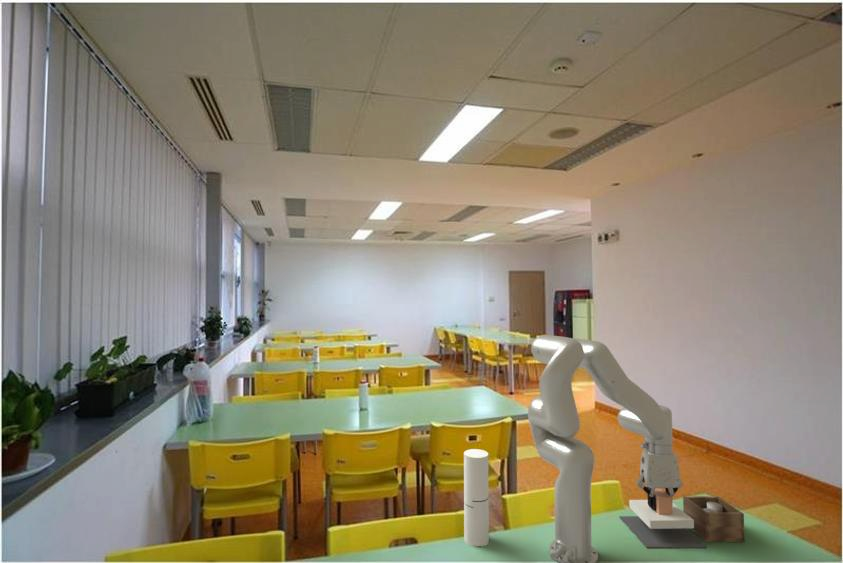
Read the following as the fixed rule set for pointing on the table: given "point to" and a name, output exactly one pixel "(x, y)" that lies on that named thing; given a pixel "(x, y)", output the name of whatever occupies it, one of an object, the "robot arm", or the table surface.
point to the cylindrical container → (476, 497)
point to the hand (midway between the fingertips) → (660, 507)
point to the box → (714, 518)
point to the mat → (661, 535)
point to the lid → (661, 512)
